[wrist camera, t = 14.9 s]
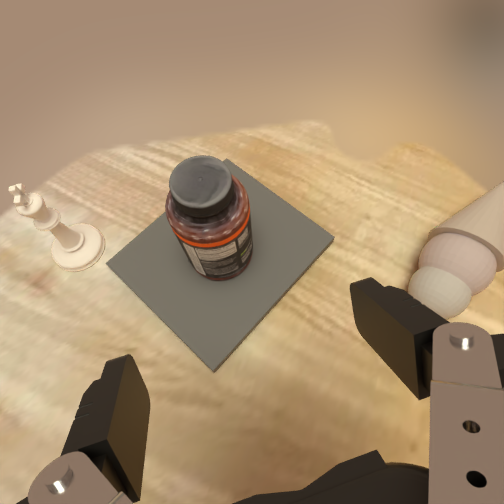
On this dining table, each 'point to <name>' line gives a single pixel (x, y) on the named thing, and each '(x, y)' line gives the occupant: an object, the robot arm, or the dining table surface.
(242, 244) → the supplement bottle
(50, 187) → the dining table surface
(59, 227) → the chess piece
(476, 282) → the ice cream cone
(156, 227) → the mat
